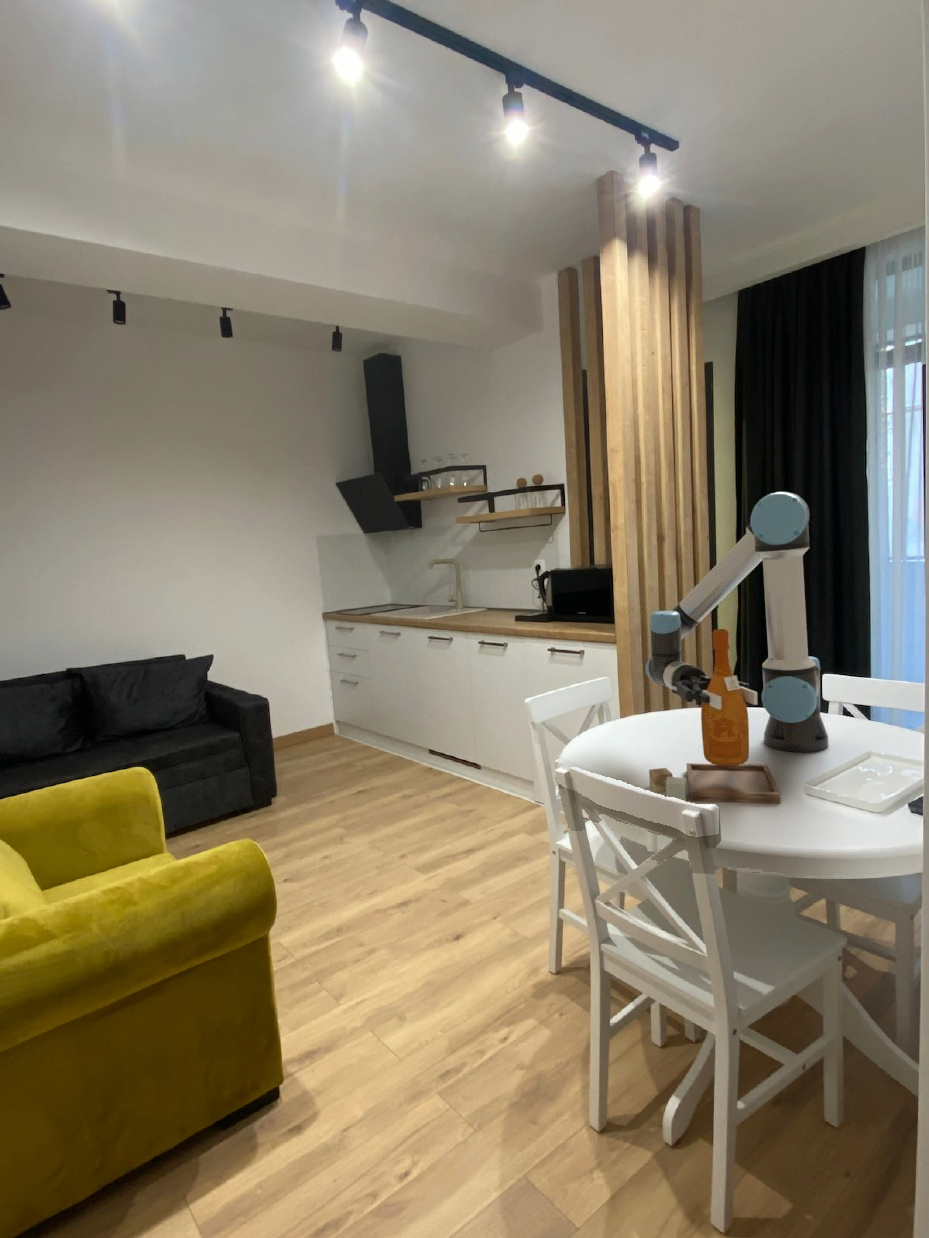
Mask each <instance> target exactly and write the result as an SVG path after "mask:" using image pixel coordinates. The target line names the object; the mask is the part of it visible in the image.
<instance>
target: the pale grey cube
mask: <svg viewBox="0 0 929 1238" xmlns="http://www.w3.org/2000/svg"><path fill="white" fill-rule="evenodd" d="M687 790H688V789H687V777H679V776H678V777H677V776H673V777H667V780H666V791H665V797H666V796H668V797H675V798H678V799H681V800H684V801H686V802H687V796H688V793H687Z"/></svg>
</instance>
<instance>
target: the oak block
mask: <svg viewBox="0 0 929 1238" xmlns="http://www.w3.org/2000/svg"><path fill="white" fill-rule="evenodd" d="M648 772H649V774H648V775H649V776H648V777H649V786H650V788H651V789H652V790H653V791H654V792H655V793H662V792H666V780H667V777H674V776H673V773H672V772H671V771H670V770H669V769H668V768H666V767H663V768H653V769H652V768H651V769H648Z"/></svg>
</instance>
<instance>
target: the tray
mask: <svg viewBox="0 0 929 1238" xmlns="http://www.w3.org/2000/svg"><path fill="white" fill-rule="evenodd" d="M685 764H686V775H687V777H686V778H687V783H688V792H689V800H690V802H714V803H715V802H717V803H718V802H719V803H721V802H722V803H746V804H747V803H750V804H751V803H752V804H753V803H754V804H756V803H757V804H781V803H782V800H781V793H780V790H779V788H778V786H777V784H776V781H775V780H774V776H773V775H772V772H771V770H770V768H769V766H768V764H766V763H764V764H762V763H760V764H758V763H754V764H753V763H743V764H741V765H736V766H720V765H715V764H712V763H701V762H700V763H699V762H698V763H695V762H693V763H692V762H691V763H687V762H686V763H685Z"/></svg>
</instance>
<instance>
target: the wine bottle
mask: <svg viewBox="0 0 929 1238" xmlns="http://www.w3.org/2000/svg"><path fill="white" fill-rule="evenodd" d="M712 631H713V632H712V639H713V641H712V642H713V644H712V648H713V650H714V668H713V673H712V676H711V678H712V679H711V681H710V683H709V686H708V688H707V691H708V692H711V693H713V694H716V695H718V696H721V709H716V708H714V707H712V706H710V704H709V703H703V702H701V710H700V721H701V738H702V749H703V756H704V758H705V760H706V761H707V762H709V764H715V765H720V766H736V765H741V764H746V763H747V762H748V760H749V757H750V740H749V739H750V736H749V735H750V734H749V733H750V728H749V712H748V711H749V710H748V707H747V704H746V703H747V702H746V701H745V700H744V698H743V695H742V693H741V691H740V687H739V683H738V681H739V680H738V675H737V674H736V675H733V672H732V671H733V670H732V668H731V667H730V661H729V652H728V651H729V649H730V644H729V636H730V634H729V631H728V630H726V628H725V629H724V628H717V629H713V630H712Z"/></svg>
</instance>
